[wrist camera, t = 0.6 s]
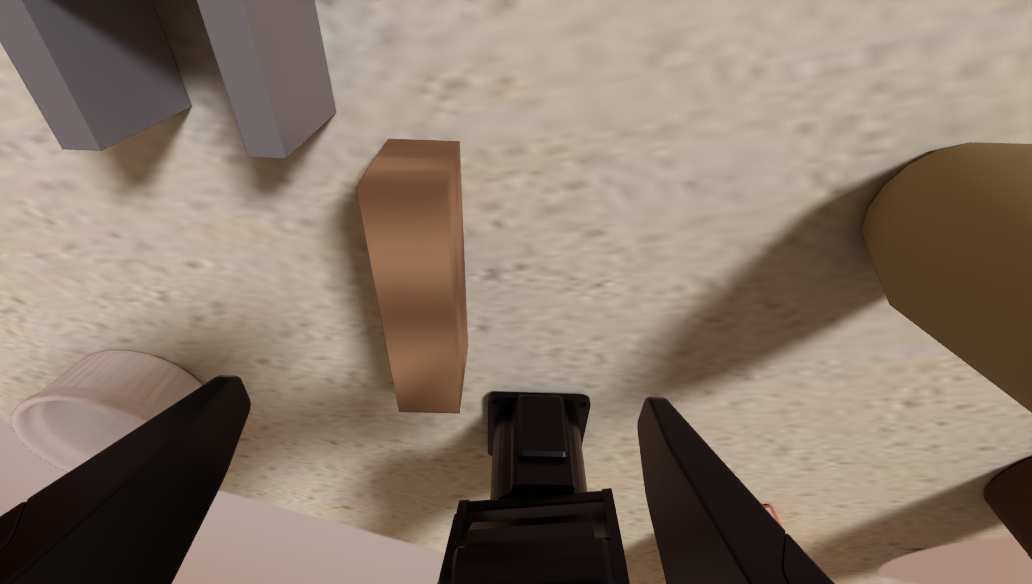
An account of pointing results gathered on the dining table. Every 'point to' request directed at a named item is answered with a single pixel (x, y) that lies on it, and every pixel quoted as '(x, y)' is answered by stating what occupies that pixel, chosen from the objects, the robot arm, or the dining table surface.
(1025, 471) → the olive oil
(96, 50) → the end cap
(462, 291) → the slat
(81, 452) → the ramekin
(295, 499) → the dining table surface
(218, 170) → the dining table surface
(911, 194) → the squeeze bottle
